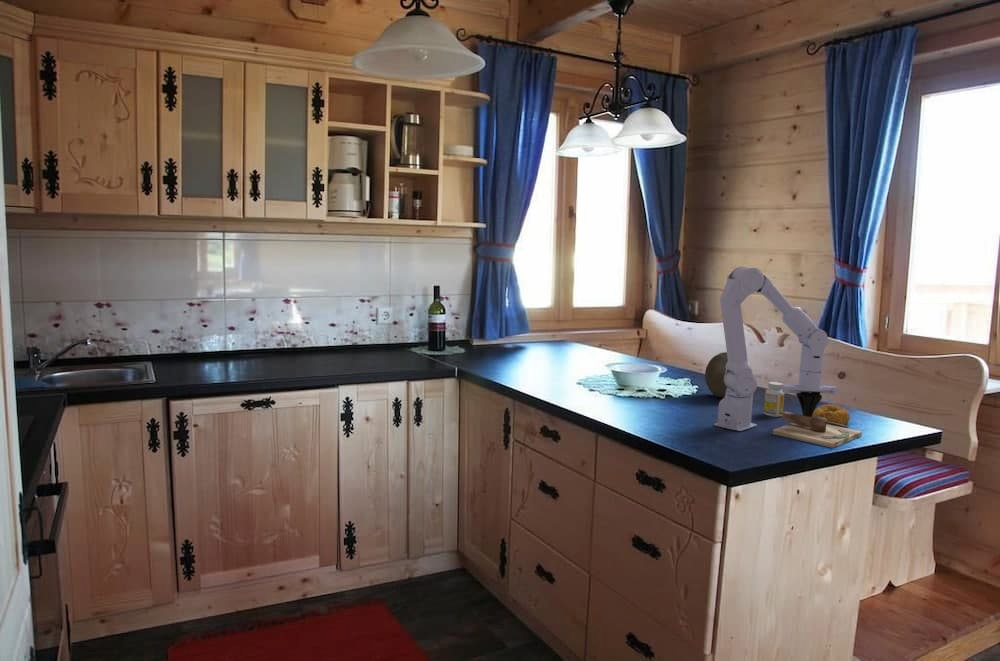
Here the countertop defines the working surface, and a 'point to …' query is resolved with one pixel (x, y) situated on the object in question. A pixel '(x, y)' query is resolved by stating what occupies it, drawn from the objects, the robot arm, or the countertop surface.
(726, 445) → the countertop surface
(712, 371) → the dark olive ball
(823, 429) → the brown elongated piece
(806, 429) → the board
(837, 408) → the bagel
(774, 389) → the supplement bottle
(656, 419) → the countertop surface
